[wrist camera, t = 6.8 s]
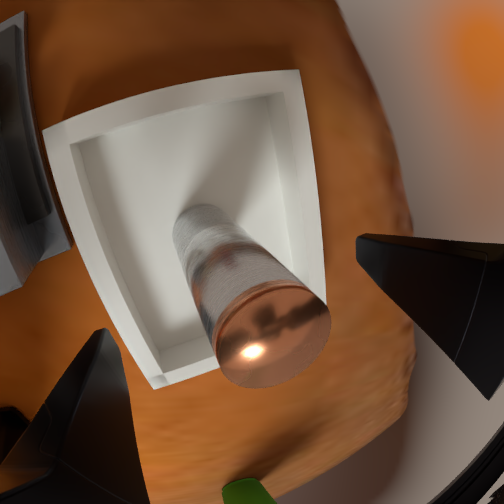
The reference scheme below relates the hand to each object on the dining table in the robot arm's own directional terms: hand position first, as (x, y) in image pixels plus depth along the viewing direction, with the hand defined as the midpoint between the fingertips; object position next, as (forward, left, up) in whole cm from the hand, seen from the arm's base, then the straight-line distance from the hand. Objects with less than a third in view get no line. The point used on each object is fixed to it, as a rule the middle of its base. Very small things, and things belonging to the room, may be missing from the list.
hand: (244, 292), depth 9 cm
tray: (0, 0, -6) cm, 6 cm away
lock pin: (0, 0, -6) cm, 6 cm away
